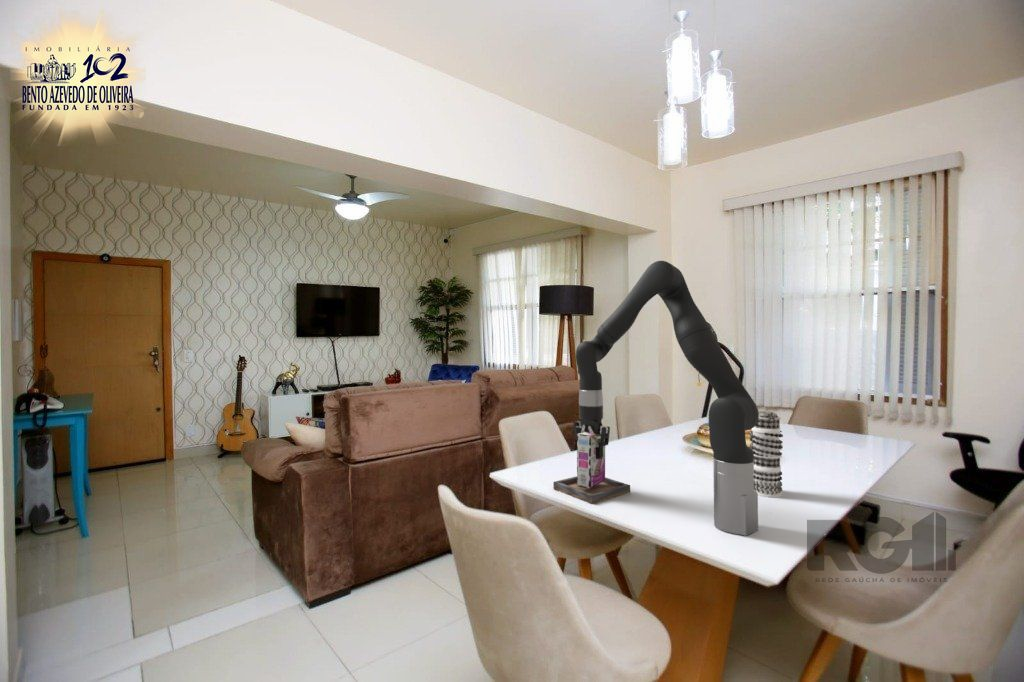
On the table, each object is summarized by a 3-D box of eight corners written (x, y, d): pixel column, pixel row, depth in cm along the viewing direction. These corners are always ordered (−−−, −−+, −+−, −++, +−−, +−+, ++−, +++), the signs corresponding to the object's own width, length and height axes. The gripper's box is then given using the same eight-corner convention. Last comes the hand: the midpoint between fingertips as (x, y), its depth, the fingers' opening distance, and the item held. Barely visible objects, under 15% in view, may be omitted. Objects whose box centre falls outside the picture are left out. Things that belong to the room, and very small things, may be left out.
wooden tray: (630, 492, 143) (630, 485, 143) (591, 503, 133) (591, 496, 133) (591, 479, 157) (591, 472, 157) (553, 489, 147) (553, 481, 147)
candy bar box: (591, 489, 139) (590, 435, 139) (576, 486, 142) (575, 434, 142) (606, 480, 148) (606, 429, 148) (592, 478, 151) (591, 428, 151)
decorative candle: (786, 492, 142) (785, 412, 143) (779, 499, 136) (778, 415, 136) (754, 486, 149) (753, 409, 149) (746, 493, 142) (745, 412, 142)
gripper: (616, 405, 142) (616, 459, 142) (583, 400, 153) (583, 450, 153) (599, 407, 137) (599, 463, 137) (566, 402, 149) (567, 454, 149)
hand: (591, 456), depth 145 cm, fingers closed on candy bar box, 6 cm apart
